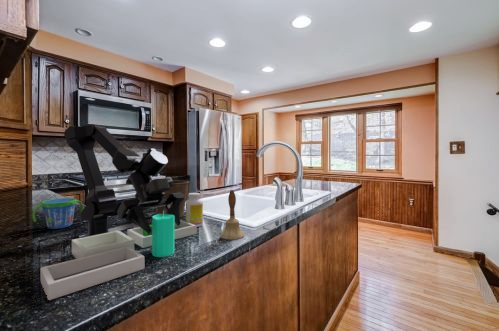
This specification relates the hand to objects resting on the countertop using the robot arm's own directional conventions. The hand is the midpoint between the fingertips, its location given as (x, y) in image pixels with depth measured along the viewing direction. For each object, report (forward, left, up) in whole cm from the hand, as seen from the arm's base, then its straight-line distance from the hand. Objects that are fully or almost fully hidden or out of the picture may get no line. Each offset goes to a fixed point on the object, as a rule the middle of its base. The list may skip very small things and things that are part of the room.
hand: (165, 228), depth 67 cm
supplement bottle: (-18, +22, -7) cm, 29 cm away
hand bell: (+2, +24, -7) cm, 25 cm away
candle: (-1, 0, -7) cm, 7 cm away
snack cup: (-53, -15, -7) cm, 55 cm away
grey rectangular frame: (0, -17, -7) cm, 19 cm away
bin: (-12, -12, -7) cm, 18 cm away
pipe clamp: (-15, +6, -7) cm, 18 cm away
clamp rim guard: (-14, +7, -7) cm, 17 cm away
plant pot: (-38, +23, -7) cm, 45 cm away
